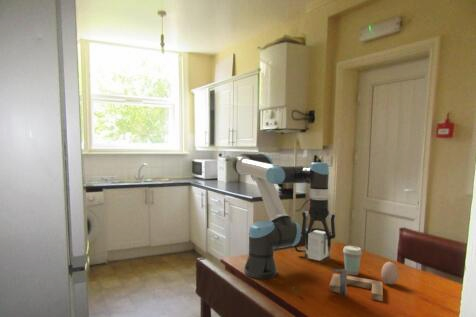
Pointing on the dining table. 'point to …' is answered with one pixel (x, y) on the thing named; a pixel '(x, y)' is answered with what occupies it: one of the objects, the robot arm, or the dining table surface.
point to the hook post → (342, 281)
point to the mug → (307, 248)
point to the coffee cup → (352, 259)
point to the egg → (389, 273)
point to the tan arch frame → (358, 285)
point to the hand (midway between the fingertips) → (317, 253)
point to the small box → (316, 245)
